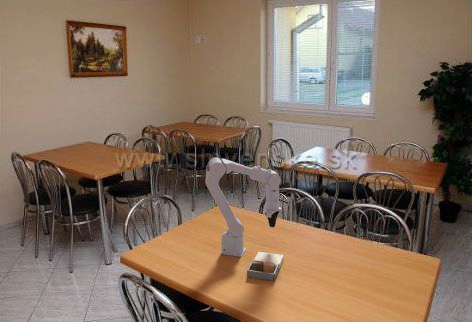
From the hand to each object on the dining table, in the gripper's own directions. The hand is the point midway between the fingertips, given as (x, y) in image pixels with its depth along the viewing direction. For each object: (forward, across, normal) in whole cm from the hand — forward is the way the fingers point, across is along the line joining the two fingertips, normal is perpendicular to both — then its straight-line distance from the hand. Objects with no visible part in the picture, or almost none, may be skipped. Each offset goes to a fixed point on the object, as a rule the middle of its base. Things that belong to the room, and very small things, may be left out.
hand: (272, 226), depth 177 cm
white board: (+10, -14, -2) cm, 17 cm away
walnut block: (+8, -21, +1) cm, 22 cm away
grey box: (+10, -22, -2) cm, 25 cm away
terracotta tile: (+8, -21, -4) cm, 22 cm away
